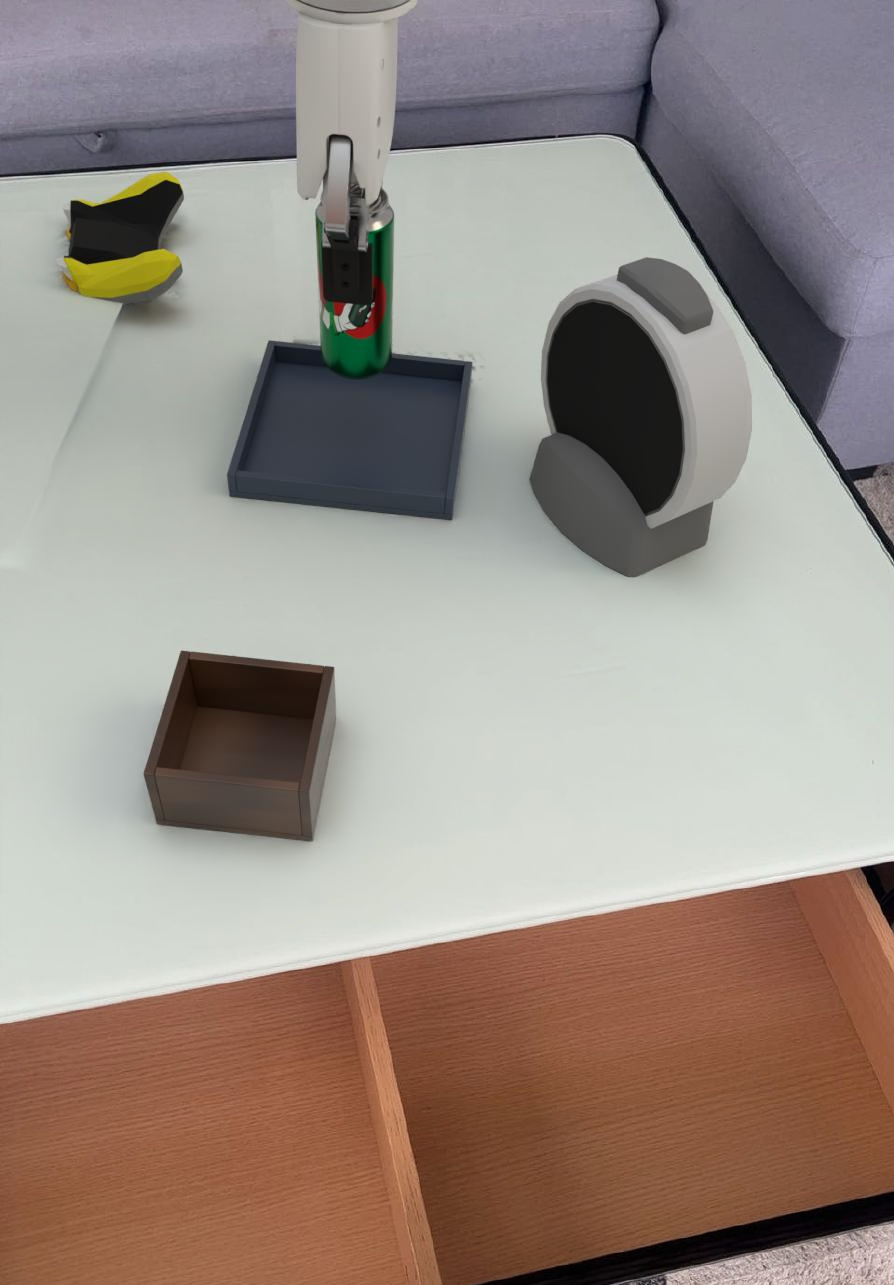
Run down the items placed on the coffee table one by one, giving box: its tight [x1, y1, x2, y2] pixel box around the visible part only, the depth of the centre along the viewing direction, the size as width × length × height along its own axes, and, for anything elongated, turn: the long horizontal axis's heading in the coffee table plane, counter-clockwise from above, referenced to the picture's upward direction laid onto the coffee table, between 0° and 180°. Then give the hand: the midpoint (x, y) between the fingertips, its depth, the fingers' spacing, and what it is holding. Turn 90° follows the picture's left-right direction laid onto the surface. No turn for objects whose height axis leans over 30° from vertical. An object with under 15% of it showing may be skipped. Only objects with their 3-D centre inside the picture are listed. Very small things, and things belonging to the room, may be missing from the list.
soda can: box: [314, 184, 395, 380], centre depth 80 cm, size 5×5×12 cm
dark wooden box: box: [143, 650, 337, 842], centre depth 69 cm, size 9×9×5 cm
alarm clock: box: [529, 256, 753, 578], centre depth 79 cm, size 16×10×18 cm, turn 33°
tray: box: [226, 339, 473, 521], centre depth 89 cm, size 16×16×2 cm
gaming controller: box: [55, 171, 185, 305], centre depth 98 cm, size 15×6×10 cm
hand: (354, 273), depth 79 cm, fingers closed on soda can, 5 cm apart
